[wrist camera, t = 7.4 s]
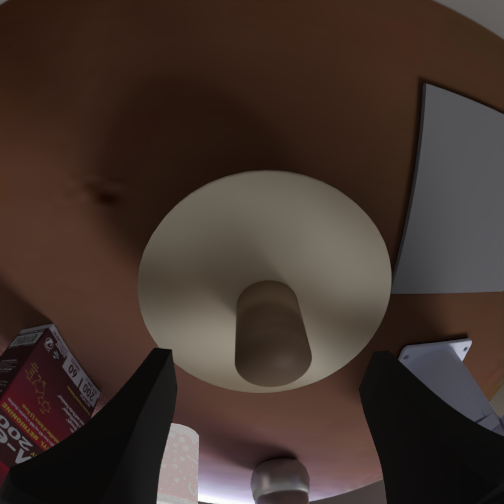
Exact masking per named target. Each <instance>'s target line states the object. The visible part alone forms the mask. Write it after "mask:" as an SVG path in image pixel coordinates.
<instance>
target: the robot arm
mask: <svg viewBox="0 0 504 504" xmlns="http://www.w3.org/2000/svg"><path fill="white" fill-rule="evenodd" d="M471 343H472V341H471V340H470V339H469V338H467V339H460V340H452V341H444V342H436V343H427V344H417V345H408V346H405V347H404V348H403V349H402V351H401V354H400V356H399V358H398V359H397V358H396V357H395V356H394V355H392V354H391V353H390V352H389V351H376V352H373V355H372V358H371V360H370V363H369V365H368V368H367V370H366V373H365V375H364V378H363V380H362V383H361V385H360V388H359V391H360V396H361V402H362V406H363V411H364V414H365V417H366V420H367V423H368V426H369V429H370V432H371V435H372V438H373V441H374V444H375V447H376V450H377V453H378V456H379V459H380V463H381V467H382V472H383V478H384V483H385V491H386V499H387V504H504V416H503V417H502V418H500V417H499V416H498V415H497V414H496V412H495V411H494V409H493V407H492V406H491V404H490V403H489V401H488V399H487V398H486V396H485V395H484V393H483V392H482V390H481V389H480V387H479V386H478V384H477V383H476V381H475V380H474V378H473V377H472V375H471V374H470V372H469V371H468V369H467V368H466V366H465V365H464V363H463V362H462V361H463V359H464V357H465V355H466V353H467V351H468V349H469V347H470V345H471ZM176 395H177V382H176V376H175V369H174V362H173V354H172V349H164V348H154V349H153V350H152V351H151V352H150V354H149V355H148V356H147V358H146V359H145V360H144V362H143V363H142V364H141V365H140V367H139V368H138V369H137V370H136V372H135V373H134V374H133V375H132V377H131V378H130V379H129V380H128V381H127V382H126V384H125V385H124V386H123V387H122V388H121V389H120V390H119V392H118V393H117V394H116V395H115V396H114V397H113V398H112V399H111V400H110V401H109V402H108V403H107V404H106V405H105V406H104V407H103V408H102V409H101V410H100V411H99V412H98V413H97V414H96V415H94V416H93V417H92V418H91V419H90V420H89V421H87V422H86V423H85V424H84V425H83V426H81V427H80V428H79V429H77V430H76V431H75V432H73V433H72V434H71V435H69V436H68V437H67V438H65V439H64V440H62V441H61V442H59V443H57V444H56V445H54V446H52V447H51V448H49V449H47V450H46V451H44V452H42V453H40V454H39V455H37V456H35V457H32V458H30V459H28V460H26V461H24V462H22V463H19V464H17V465H15V466H12V467H10V469H9V471H8V473H7V475H6V477H5V480H4V482H3V485H2V487H1V490H0V502H1V503H2V504H157V493H158V483H159V475H160V468H161V463H162V459H163V455H164V451H165V447H166V443H167V439H168V435H169V431H170V427H171V423H172V419H173V415H174V410H175V403H176Z"/></svg>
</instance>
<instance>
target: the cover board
mask: <svg viewBox="0 0 504 504" xmlns="http://www.w3.org/2000/svg"><path fill="white" fill-rule="evenodd" d="M390 292H391V265H390V259H389V255H388V252H387V249H386V245H385V242H384V240H383V238H382V236H381V234H380V232H379V231H378V229H377V227H376V226H375V224H374V223H373V222H372V220H371V219H370V217H369V216H368V215H367V214H366V213H365V212H364V211H363V210H362V209H361V208H360V207H359V206H358V205H357V204H356V203H355V202H354V201H352V200H351V199H350V198H349V197H347V196H346V195H345V194H343V193H342V192H340V191H339V190H338V189H336V188H334V187H332V186H331V185H329V184H327V183H325V182H323V181H321V180H318V179H315V178H312V177H310V176H307V175H304V174H299V173H294V172H289V171H281V170H256V171H246V172H241V173H237V174H233V175H229V176H225V177H223V178H220V179H217V180H215V181H212V182H210V183H208V184H206V185H204V186H202V187H200V188H199V189H197V190H195V191H193V192H192V193H191V194H189V195H188V196H187V197H185V198H184V199H183V200H181V201H180V202H179V203H178V204H177V205H176V206H175V207H174V208H173V209H172V210H171V211H170V212H169V213H168V214H167V215H166V216H165V218H164V219H163V220H162V221H161V223H160V224H159V226H158V227H157V229H156V230H155V231H154V233H153V234H152V236H151V238H150V240H149V242H148V244H147V246H146V248H145V250H144V253H143V256H142V259H141V263H140V266H139V273H138V300H139V306H140V310H141V313H142V316H143V320H144V322H145V325H146V327H147V329H148V331H149V333H150V335H151V336H152V338H153V339H154V341H155V342H156V344H157V345H158V346H159V347H160V348H164V349H172V354H173V362H174V363H175V364H177V365H178V366H179V367H181V368H182V369H183V370H185V371H186V372H188V373H189V374H191V375H193V376H195V377H197V378H199V379H200V380H203V381H205V382H208V383H210V384H213V385H216V386H219V387H222V388H226V389H230V390H236V391H242V392H252V393H268V392H279V391H285V390H290V389H295V388H299V387H302V386H305V385H309V384H311V383H314V382H316V381H319V380H321V379H323V378H325V377H327V376H329V375H331V374H333V373H334V372H336V371H337V370H339V369H340V368H342V367H343V366H345V365H346V364H347V363H348V362H350V361H351V360H352V359H353V358H355V357H356V356H357V355H358V354H359V353H360V352H361V350H362V349H363V348H364V347H365V346H366V345H367V344H368V342H369V341H370V340H371V338H372V337H373V336H374V334H375V332H376V331H377V329H378V327H379V326H380V324H381V322H382V319H383V317H384V315H385V312H386V309H387V306H388V302H389V298H390Z"/></svg>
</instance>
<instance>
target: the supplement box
mask: <svg viewBox="0 0 504 504" xmlns="http://www.w3.org/2000/svg"><path fill="white" fill-rule="evenodd" d="M100 394H101V393H100V391H99V390H98V389H97V388H96V387H95V386H94V384H93V383H92V382H91V380H90V379H89V378H88V376H87V375H86V374H85V372H84V371H83V370H82V368H81V367H80V365H79V364H78V362H77V361H76V359H75V358H74V356H73V355H72V353H71V352H70V350H69V349H68V347H67V346H66V344H65V342H64V341H63V339H62V338H61V336H60V334H59V333H58V331H57V328H56V327H55V325H54V324H53V323H52V324H48V325H42V326H37V327H32V328H27V329H23V330H21V332H20V333H19V334H18V335H17V336H16V338H15V339H14V340H13V341H12V342H11V344H10V345H9V346H8V348H7V349H6V350H5V351H4V353H3V354H2V355H1V357H0V490H1V487H2V485H3V482H4V480H5V477H6V475H7V473H8V471H9V469H10V467H12V466H15V465H17V464H19V463H22V462H24V461H26V460H28V459H30V458H32V457H35V456H37V455H39V454H40V453H42V452H44V451H46V450H47V449H49V448H51V447H52V446H54V445H56V444H57V443H59V442H61V441H62V440H64V439H65V438H67V437H68V436H69V435H71V434H72V433H73V432H75V431H76V430H77V429H79V428H80V427H81V426H83V425H84V424H85V423H86V422H87V421H89V420H90V419H91V416H92V414H93V411H94V409H95V406H96V404H97V401H98V399H99V397H100ZM0 504H2V503H1V502H0Z"/></svg>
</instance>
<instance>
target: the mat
mask: <svg viewBox="0 0 504 504" xmlns="http://www.w3.org/2000/svg"><path fill="white" fill-rule="evenodd" d="M495 291H504V114H502V113H500V112H498V111H495V110H493V109H491V108H489V107H487V106H484V105H482V104H480V103H477V102H475V101H473V100H470V99H468V98H465V97H463V96H460V95H458V94H455V93H452V92H450V91H447V90H444V89H441V88H438V87H436V86H433V85H430V84H427V83H426V84H423V95H422V109H421V121H420V131H419V140H418V149H417V156H416V164H415V171H414V177H413V183H412V189H411V195H410V200H409V206H408V211H407V216H406V221H405V226H404V230H403V235H402V239H401V243H400V248H399V252H398V256H397V260H396V264H395V268H394V272H393V275H392V279H391V292H390V294H432V293H470V292H495Z"/></svg>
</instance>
